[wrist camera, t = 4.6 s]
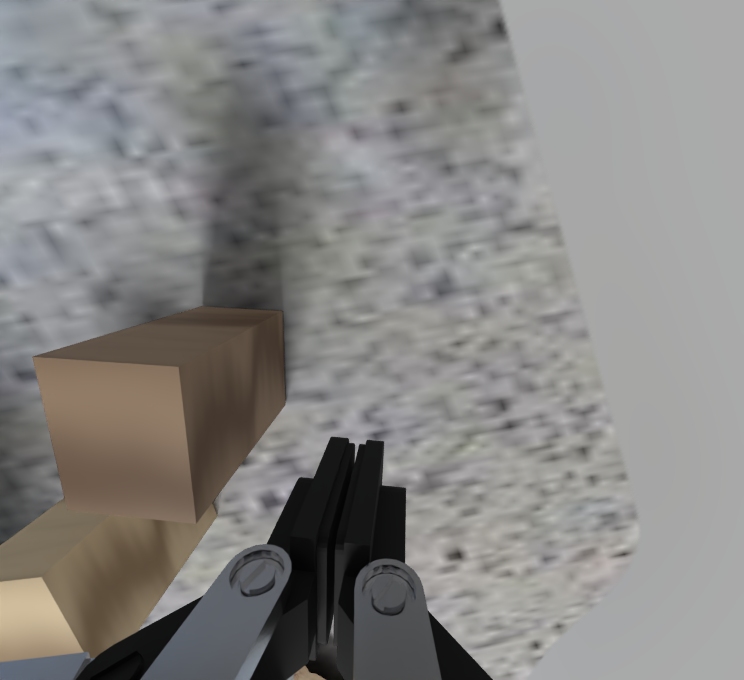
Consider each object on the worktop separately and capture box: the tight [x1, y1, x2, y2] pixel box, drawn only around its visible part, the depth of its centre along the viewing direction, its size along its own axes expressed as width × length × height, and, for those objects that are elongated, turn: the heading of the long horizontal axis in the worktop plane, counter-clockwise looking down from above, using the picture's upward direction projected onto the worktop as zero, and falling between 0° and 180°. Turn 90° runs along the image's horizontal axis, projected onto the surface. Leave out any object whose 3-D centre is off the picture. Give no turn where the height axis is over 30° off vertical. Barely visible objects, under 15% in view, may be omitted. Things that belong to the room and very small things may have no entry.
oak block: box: [0, 498, 217, 662], centre depth 20 cm, size 6×5×10 cm
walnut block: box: [33, 306, 285, 524], centre depth 17 cm, size 6×5×10 cm
